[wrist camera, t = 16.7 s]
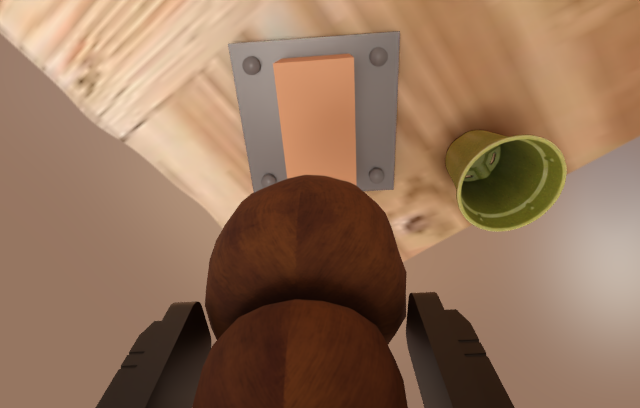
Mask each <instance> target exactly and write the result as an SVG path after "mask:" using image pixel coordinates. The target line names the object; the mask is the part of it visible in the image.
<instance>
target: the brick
mask: <svg viewBox="0 0 640 408" xmlns="http://www.w3.org/2000/svg"><path fill="white" fill-rule="evenodd" d="M273 69H274V77H275V85H276V93H277V101H278V109H279V117H280V125H281V133H282V141H283V149H284V157H285V165H286V173H287V179H288V178H293V177H297V176H302V175H321V176H328V177H332V178H336V179H339V180H343V181H347V182H350V183H352V184H354V185H356V186H357V182H356V132H355V81H354V57H353V56H352V55H350V54H336V55H323V56H309V57H296V58H283V59H280V60H278V61H276V62H275V63H273Z"/></svg>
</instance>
